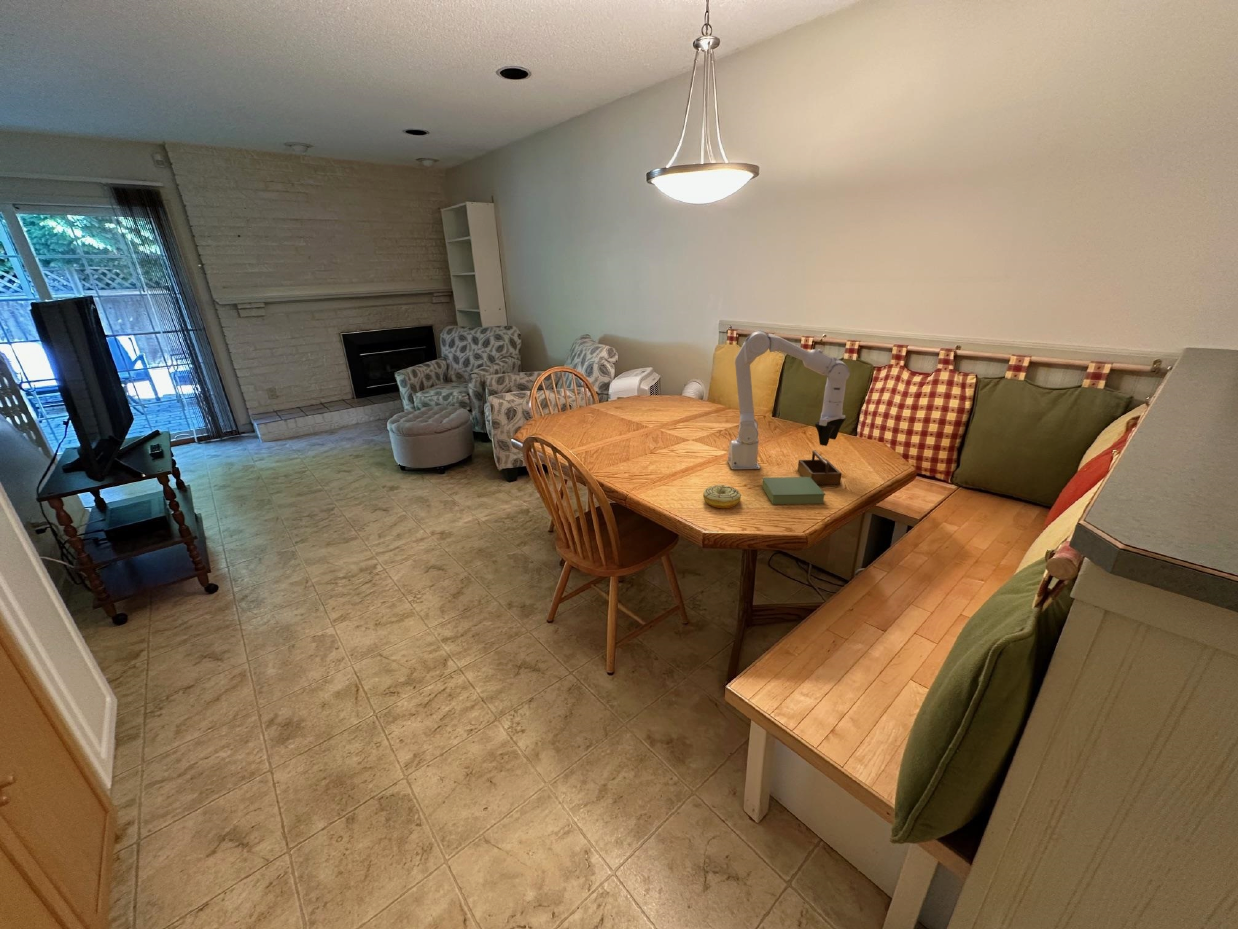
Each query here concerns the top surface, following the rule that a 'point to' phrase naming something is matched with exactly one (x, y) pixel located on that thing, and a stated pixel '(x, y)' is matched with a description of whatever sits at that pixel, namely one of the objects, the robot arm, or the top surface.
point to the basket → (819, 470)
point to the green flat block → (792, 490)
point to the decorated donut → (721, 496)
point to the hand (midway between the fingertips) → (827, 441)
